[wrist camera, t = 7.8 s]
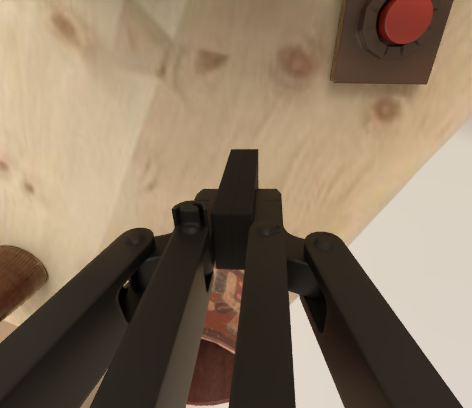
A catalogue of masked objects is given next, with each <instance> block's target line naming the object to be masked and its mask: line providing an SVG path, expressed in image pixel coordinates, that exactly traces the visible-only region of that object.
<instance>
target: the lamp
mask: <svg viewBox="0 0 472 408" xmlns="http://www.w3.org/2000/svg"><path fill="white" fill-rule="evenodd" d="M46 278H47V275H46V270H45V268H44V267H43V265H42V264H41V263H40V261H39V260H38V259H37V258H35V257H34V256H33V255H31V254H30V253H28V252H26V251H25V250H22V249H19V248H16V247H12V246H1V247H0V322H1V321H2V320H3V319H5V318H6V317H7V316H9V315H10V314H11V313H12V312H13V311H15V310H16V309H17V308H18V307H19V306H21V305H22V304H23V303H24V302H25V301H27V300H28V299H29V298H30V297H31V296H32V295H33V294H34V293H35V292H37V291H38V290H39V289H40V288H41V287H42V286H43V285H44V283H45V282H46Z"/></svg>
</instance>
